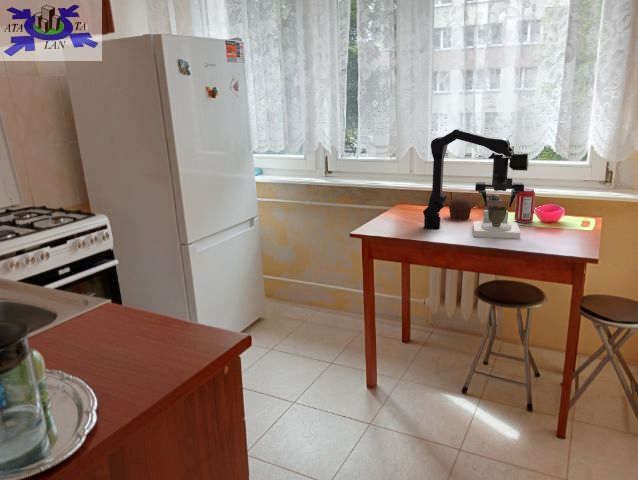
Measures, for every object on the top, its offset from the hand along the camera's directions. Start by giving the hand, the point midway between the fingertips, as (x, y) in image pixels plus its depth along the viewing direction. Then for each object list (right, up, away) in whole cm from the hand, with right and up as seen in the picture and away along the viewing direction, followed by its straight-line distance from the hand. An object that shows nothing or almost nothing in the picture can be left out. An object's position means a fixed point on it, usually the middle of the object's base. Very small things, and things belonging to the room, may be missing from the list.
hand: (497, 207), depth 203 cm
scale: (+1, -10, +5) cm, 11 cm away
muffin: (-7, -3, +30) cm, 31 cm away
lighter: (+9, -2, +33) cm, 34 cm away
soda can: (+19, -5, +19) cm, 28 cm away
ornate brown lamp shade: (0, -8, +2) cm, 8 cm away
